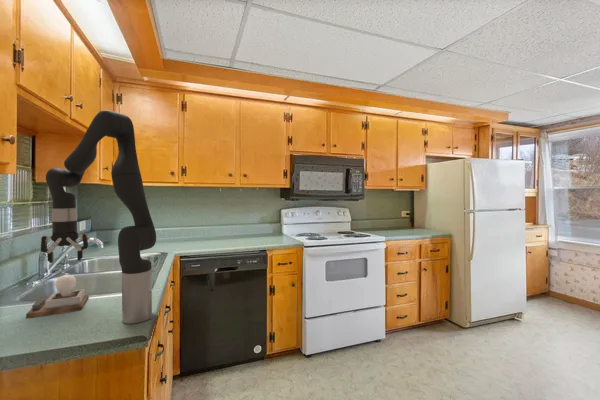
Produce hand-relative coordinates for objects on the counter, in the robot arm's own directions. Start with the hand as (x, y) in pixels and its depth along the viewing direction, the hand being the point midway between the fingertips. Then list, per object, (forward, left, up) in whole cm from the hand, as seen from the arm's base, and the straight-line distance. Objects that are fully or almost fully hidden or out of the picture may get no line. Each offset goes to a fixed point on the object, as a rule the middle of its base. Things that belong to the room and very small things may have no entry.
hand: (65, 261), depth 113 cm
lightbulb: (0, 0, -17) cm, 17 cm away
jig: (+2, 0, -18) cm, 18 cm away
